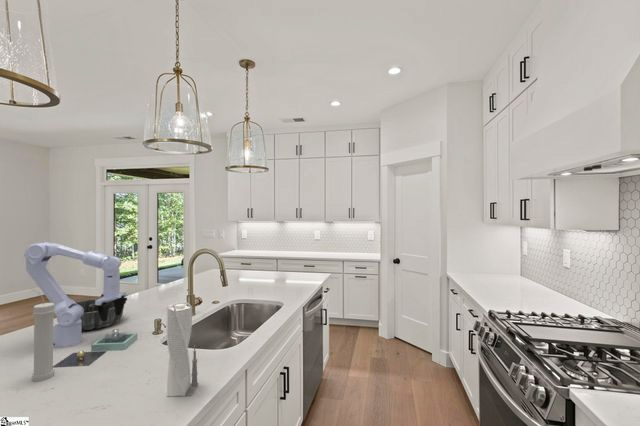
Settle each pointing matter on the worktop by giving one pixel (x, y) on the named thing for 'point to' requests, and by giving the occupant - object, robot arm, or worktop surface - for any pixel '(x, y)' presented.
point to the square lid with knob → (80, 359)
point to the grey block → (115, 337)
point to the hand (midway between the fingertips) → (111, 317)
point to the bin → (103, 346)
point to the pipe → (43, 341)
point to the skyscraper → (180, 351)
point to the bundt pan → (97, 315)
